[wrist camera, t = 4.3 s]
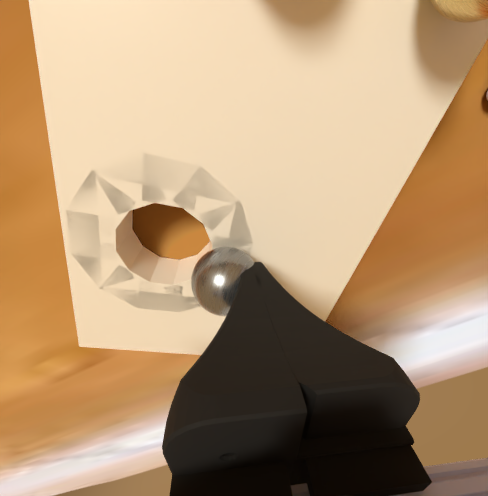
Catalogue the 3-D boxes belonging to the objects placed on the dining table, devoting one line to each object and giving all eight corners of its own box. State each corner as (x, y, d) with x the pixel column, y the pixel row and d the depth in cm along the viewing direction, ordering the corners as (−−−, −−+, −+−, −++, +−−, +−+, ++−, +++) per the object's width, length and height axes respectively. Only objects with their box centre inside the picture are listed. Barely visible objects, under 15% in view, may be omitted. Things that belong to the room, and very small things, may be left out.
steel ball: (248, 291, 8) (174, 260, 9) (238, 342, 10) (177, 312, 11) (275, 247, 11) (215, 226, 12) (263, 295, 13) (212, 273, 13)
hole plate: (521, -125, 8) (629, -209, 6) (292, 334, 19) (302, 361, 17) (34, -448, 5) (-95, -843, 3) (97, 316, 16) (79, 346, 14)
